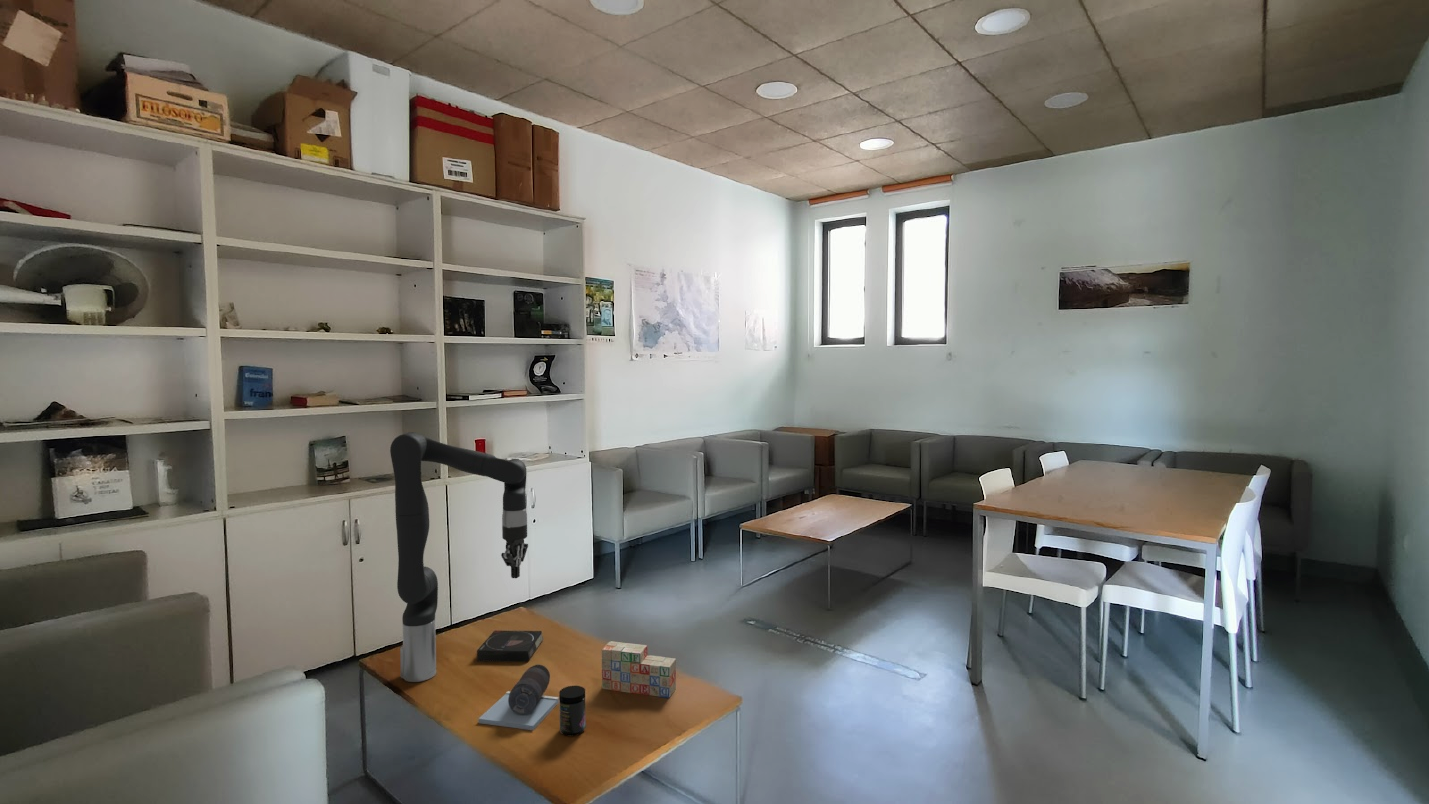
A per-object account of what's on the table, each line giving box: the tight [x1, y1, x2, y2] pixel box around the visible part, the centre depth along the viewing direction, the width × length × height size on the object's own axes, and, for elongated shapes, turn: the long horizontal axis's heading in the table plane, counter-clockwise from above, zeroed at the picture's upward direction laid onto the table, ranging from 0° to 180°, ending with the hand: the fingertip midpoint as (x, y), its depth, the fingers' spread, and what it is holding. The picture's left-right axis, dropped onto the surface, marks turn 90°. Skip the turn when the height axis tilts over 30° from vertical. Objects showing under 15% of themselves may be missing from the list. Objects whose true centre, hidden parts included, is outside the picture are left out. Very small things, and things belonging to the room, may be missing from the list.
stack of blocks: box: [601, 640, 677, 699], centre depth 199 cm, size 21×6×12 cm, turn 75°
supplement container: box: [558, 685, 586, 737], centre depth 176 cm, size 7×7×10 cm
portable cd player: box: [476, 630, 544, 663], centre depth 225 cm, size 16×17×4 cm
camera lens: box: [508, 664, 551, 715], centre depth 188 cm, size 8×8×15 cm
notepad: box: [478, 690, 559, 731], centre depth 185 cm, size 16×15×2 cm
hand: (515, 577), depth 211 cm, fingers closed
